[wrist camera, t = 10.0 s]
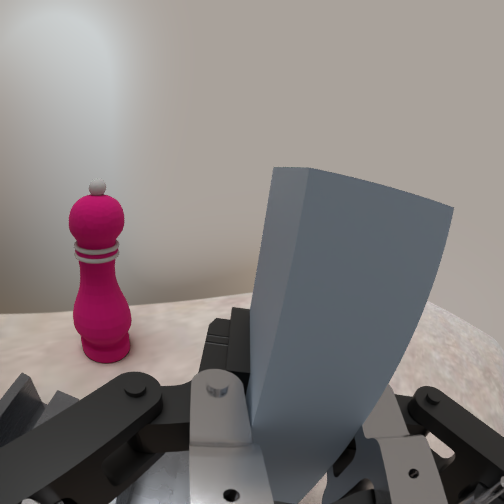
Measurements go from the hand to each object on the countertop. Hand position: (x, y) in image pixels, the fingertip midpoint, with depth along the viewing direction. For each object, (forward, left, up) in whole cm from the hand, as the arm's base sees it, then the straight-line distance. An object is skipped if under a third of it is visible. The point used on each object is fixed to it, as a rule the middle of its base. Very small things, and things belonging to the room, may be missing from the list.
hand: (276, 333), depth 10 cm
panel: (0, -3, -9) cm, 9 cm away
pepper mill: (-16, +15, -17) cm, 28 cm away
